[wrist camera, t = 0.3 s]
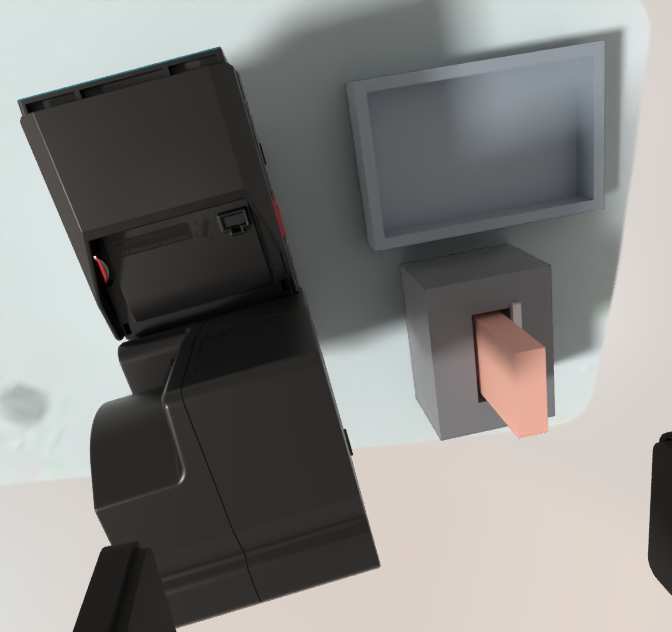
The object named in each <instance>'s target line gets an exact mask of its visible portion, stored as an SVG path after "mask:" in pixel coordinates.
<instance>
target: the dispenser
mask: <svg viewBox="0 0 672 632" xmlns="http://www.w3.org/2000/svg"><path fill="white" fill-rule="evenodd" d="M400 271H401V279H402V287H403V295H404V304H405V312H406V320H407V329H408V337H409V345H410V353H411V362H412V370H413V378H414V387H415V395H416V399H417V401H418V403H419V404H420V406H421V408H422V409H423V411H424V413H425V414H426V416H427V418H428V419H429V421H430V423H431V425H432V426H433V428H434V430H435V431H436V433H437V435H438V436H439V438H440V440H441V441H442V440H447V439H451V438H456V437H461V436H465V435H470V434H474V433H479V432H484V431H488V430H493V429H497V428H502V427H507V426H508V425H507V424H506V423H505V422H504V420H503V419H502V418H501V417H500V416H499V414H498V413H497V412H496V411H495V410H494V408H493V407H492V406H491V405H490V404H489V402H488V401H487V400H486V399H485V398H484V396H483V395H482V394H481V393H480V392H479V390H478V389H477V378H476V366H475V353H474V340H473V328H472V315H475V314H480V313H485V312H490V311H495V310H499V311H500V312H501V313H503V314H504V315H505V316H506V317H508V318H509V319H510V320H511V321H513V322H514V323H515V324H516V325H518V326H519V327H520V328H521V329H523V330H524V331H525V332H527V333H528V334H529V335H530V336H532V337H533V338H534V339H535V340H537V341H538V342H539V343H540V344H542V345H543V346H544V347H545V354H546V385H547V415H548V417H553V416H555V397H554V361H553V325H552V289H551V265H549V264H547V263H545V262H543V261H541V260H540V259H538V258H536V257H534V256H532V255H530V254H528V253H526V252H524V251H522V250H520V249H518V248H516V247H514V246H512V245H510V244H505V245H500V246H494V247H489V248H484V249H479V250H473V251H468V252H463V253H458V254H453V255H447V256H442V257H437V258H432V259H426V260H421V261H416V262H411V263H405V264H400Z"/></svg>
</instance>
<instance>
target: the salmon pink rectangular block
mask: <svg viewBox="0 0 672 632" xmlns="http://www.w3.org/2000/svg"><path fill="white" fill-rule="evenodd" d="M472 328H473V340H474V353H475V366H476V378H477V389H478V390H479V392H480V393H481V394H482V395H483V396H484V398H485V399H486V400H487V401H488V402H489V404H490V405H491V406H492V407H493V408H494V410H495V411H496V412H497V413H498V414H499V416H500V417H501V418H502V419H503V420H504V422H505V423H506V424H507V425H508V427H509V428H510V429H511V430H512V431H513V433H514V434H515V435H516V436H517V437H518V438H523V437H527V436H532V435H537V434H541V433H546V432H548V415H547V385H546V354H545V347H544V346H543V345H542V344H540V343H539V342H538V341H537V340H535V339H534V338H533V337H532V336H530V335H529V334H528V333H527V332H525V331H524V330H523V329H521V328H520V327H519V326H518V325H516V324H515V323H514V322H513V321H511V320H510V319H509V318H508V317H506V316H505V315H504V314H503V313H501V312H500V311H499V310H495V311H490V312H485V313H480V314H475V315H472Z"/></svg>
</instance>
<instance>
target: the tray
mask: <svg viewBox="0 0 672 632" xmlns="http://www.w3.org/2000/svg"><path fill="white" fill-rule="evenodd" d="M346 90H347V98H348V105H349V112H350V119H351V126H352V134H353V141H354V148H355V155H356V162H357V170H358V177H359V184H360V191H361V199H362V206H363V213H364V220H365V227H366V235H367V242H368V244H369V245H370V246H371V247H372V248H373V249H374V250H375V251H381V250H387V249H392V248H397V247H403V246H408V245H413V244H418V243H424V242H429V241H434V240H440V239H445V238H450V237H456V236H461V235H466V234H472V233H477V232H482V231H487V230H493V229H498V228H503V227H509V226H514V225H519V224H525V223H530V222H535V221H540V220H546V219H551V218H556V217H562V216H567V215H572V214H578V213H583V212H588V211H594V210H599V209H604V95H605V40H603V41H597V42H591V43H585V44H579V45H572V46H566V47H560V48H554V49H548V50H542V51H536V52H530V53H523V54H517V55H511V56H505V57H499V58H493V59H487V60H481V61H475V62H468V63H462V64H456V65H450V66H444V67H438V68H432V69H426V70H420V71H413V72H407V73H401V74H395V75H389V76H383V77H377V78H371V79H364V80H358V81H352V82H349V83H346Z"/></svg>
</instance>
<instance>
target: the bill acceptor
mask: <svg viewBox="0 0 672 632" xmlns="http://www.w3.org/2000/svg"><path fill="white" fill-rule="evenodd" d="M18 104H19V107H20V110H21V113H22V117H21V120H20V123H21V126H22V128H23V130H24V133H25V135H26V137H27V140H28V142H29V145H30V147H31V149H32V152H33V154H34V156H35V159H36V161H37V163H38V166H39V168H40V171H41V173H42V175H43V178H44V180H45V182H46V185H47V187H48V189H49V192H50V194H51V197H52V199H53V201H54V204H55V206H56V208H57V211H58V213H59V215H60V218H61V220H62V223H63V225H64V227H65V230H66V232H67V234H68V237H69V239H70V241H71V244H72V246H73V249H74V251H75V253H76V256H77V258H78V260H79V263H80V265H81V267H82V270H83V272H84V275H85V277H86V279H87V282H88V284H89V286H90V289H91V291H92V293H93V296H94V298H95V301H96V303H97V305H98V307H99V309H100V311H101V313H102V315H103V316H104V318H105V320H106V322H107V324H108V326H109V327H110V329H111V331H112V333H113V335H114V337H115V338H116V339H117V340H118V341H120V340H122V339H123V338H124V336H125V337H126V339H127V340H129V341H127V342H123V343H122V344H121V345H120V346H119V347H118V358H119V362H120V365H121V367H122V370H123V372H124V374H125V377H126V379H127V382H128V384H129V386H130V389H131V391H132V395H129V396H126V397H123V398H119V399H116V400H113V401H109V402H106V403H104V404H103V405H102V406H101V407H100V408H99V410H98V411H97V413H96V415H95V418H94V421H93V424H92V429H91V437H90V464H91V476H92V486H93V487H92V488H93V499H94V509H95V512H96V514H97V516H98V518H99V521H100V522H101V524H102V527H103V529H104V531H105V533H106V535H107V537H108V539H109V541H110V543H111V546H112V545H117V544H122V543H127V542H131V541H138V542H139V543H140V545H141V548H145V547H151V549H152V551H153V554H154V557H155V560H156V564H157V567H158V571H159V574H160V577H161V581H162V584H163V588H164V591H165V595H166V598H167V601H168V605H169V608H170V612H171V615H172V618H173V622H174V625H175V629H176V628H179V627H182V626H186V625H190V624H193V623H196V622H200V621H203V620H206V619H210V618H213V617H216V616H220V615H223V614H226V613H230V612H233V611H236V610H240V609H243V608H246V607H250V606H253V605H256V604H260V603H263V602H266V601H270V600H273V599H277V598H280V597H283V596H287V595H290V594H293V593H297V592H300V591H303V590H307V589H310V588H313V587H316V586H320V585H323V584H326V583H330V582H334V581H337V580H340V579H343V578H347V577H350V576H353V575H357V574H360V573H364V572H367V571H370V570H373V569H377V568H380V561H379V558H378V554H377V550H376V547H375V543H374V540H373V536H372V532H371V529H370V525H369V522H368V518H367V515H366V510H365V506H364V503H363V499H362V495H361V492H360V488H359V484H358V480H357V477H356V473H355V470H354V466H353V462H352V458H351V456H352V455H353V453H352V449H351V445H350V442H349V438H348V435H347V431H346V429H343V426H342V422H341V419H340V415H339V411H338V408H337V404H336V401H335V397H334V394H333V390H332V387H331V383H330V379H329V376H328V372H327V369H326V365H325V362H324V358H323V355H322V352H321V349H320V346H319V342H318V339H317V335H316V332H315V328H314V324H313V321H312V318H311V314H310V311H309V307H308V304H307V300H306V297H305V293H304V292H303V291H302V288H301V287H300V285H299V282H298V278H297V275H296V271H295V268H294V264H293V261H292V257H291V254H290V250H289V247H288V244H287V240H286V237H285V236H286V234H285V231H284V227H283V224H282V220H281V217H280V213H279V210H278V206H277V205H276V202H275V198H274V195H273V191H272V188H271V184H270V181H269V177H268V174H267V170H266V167H265V165H266V161H265V157H264V154H263V150H262V147H261V144H260V143H259V142H258V138H257V135H256V131H255V128H254V124H253V121H252V117H251V114H250V110H249V107H248V103H247V100H246V96H245V93H244V89H243V86H242V82H241V79H240V76H239V74H238V72H237V71H236V70H235V69H234V67H233V66H232V65H230V64H229V63H228V61H227V59H226V56H225V53H224V52H223V50H222V49H221V47H216V48H212V49H208V50H205V51H201V52H197V53H193V54H190V55H186V56H182V57H178V58H174V59H171V60H167V61H163V62H159V63H155V64H152V65H148V66H144V67H140V68H137V69H133V70H129V71H125V72H121V73H118V74H114V75H110V76H106V77H103V78H99V79H95V80H91V81H87V82H84V83H80V84H76V85H72V86H68V87H65V88H61V89H57V90H53V91H50V92H46V93H42V94H38V95H34V96H31V97H27V98H23V99H19V100H18ZM93 256H95V259H96V260H95V259H94V257H93Z"/></svg>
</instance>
